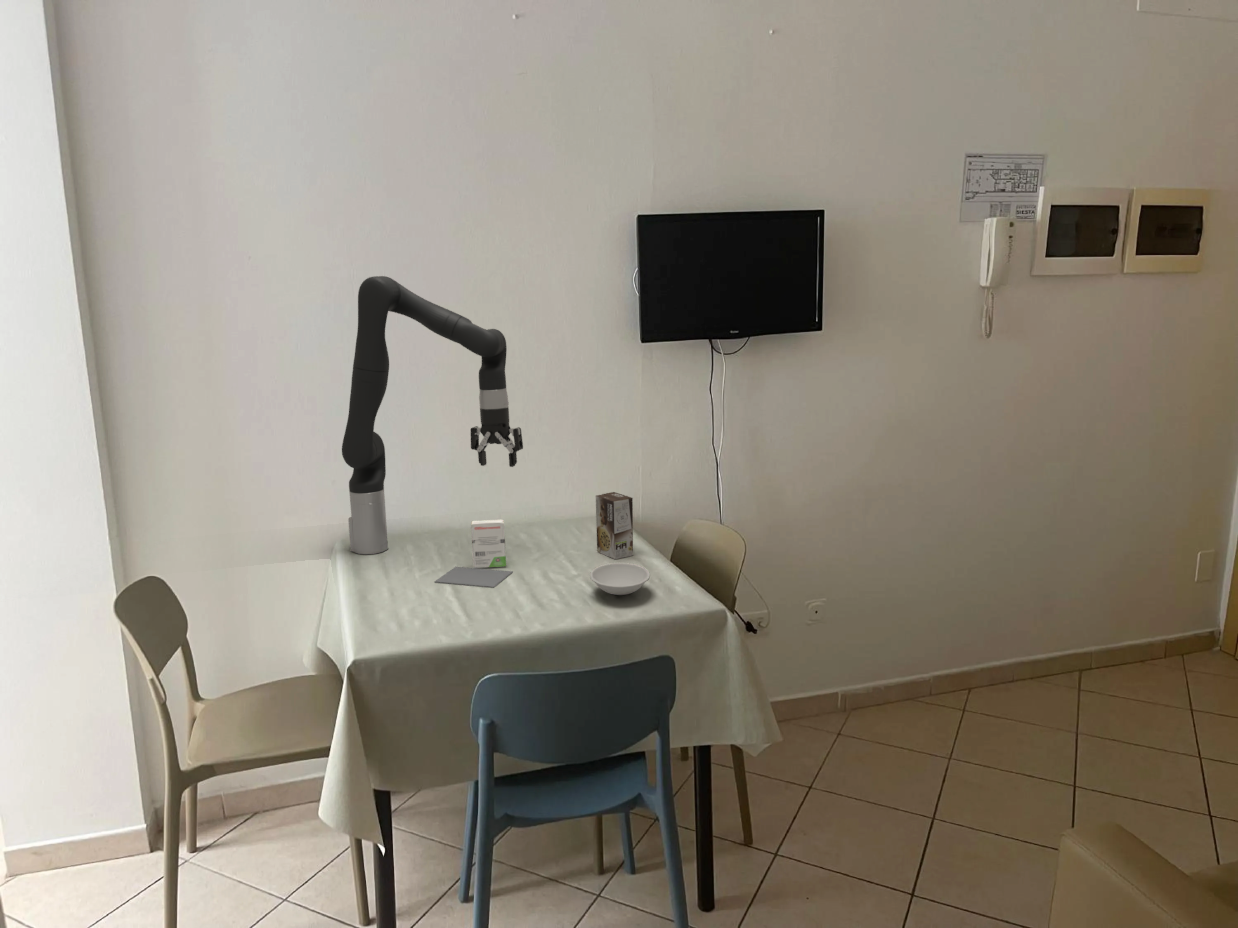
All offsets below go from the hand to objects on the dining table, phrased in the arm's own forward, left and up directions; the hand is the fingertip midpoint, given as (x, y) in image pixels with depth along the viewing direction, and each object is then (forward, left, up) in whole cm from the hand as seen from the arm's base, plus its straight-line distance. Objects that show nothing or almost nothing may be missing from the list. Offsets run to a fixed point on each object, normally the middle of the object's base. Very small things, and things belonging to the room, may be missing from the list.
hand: (498, 465), depth 246 cm
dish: (+40, -22, -25) cm, 52 cm away
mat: (+1, -20, -25) cm, 32 cm away
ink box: (+1, -10, -25) cm, 27 cm away
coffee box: (+30, +8, -25) cm, 40 cm away
